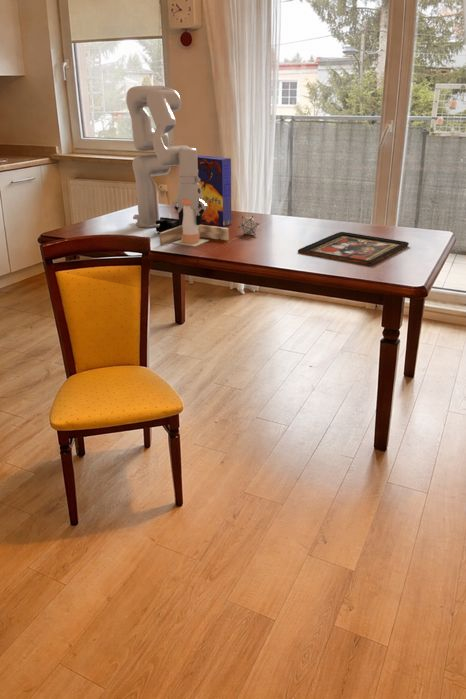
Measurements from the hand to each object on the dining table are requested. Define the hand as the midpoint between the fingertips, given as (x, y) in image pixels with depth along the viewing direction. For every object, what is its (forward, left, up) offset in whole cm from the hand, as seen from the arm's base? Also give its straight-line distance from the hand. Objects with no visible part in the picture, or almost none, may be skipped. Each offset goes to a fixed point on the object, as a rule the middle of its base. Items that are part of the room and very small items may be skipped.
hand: (190, 223), depth 245 cm
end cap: (-17, +8, -8) cm, 21 cm away
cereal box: (-13, +36, -8) cm, 39 cm away
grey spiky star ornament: (+15, +23, -8) cm, 29 cm away
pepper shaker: (0, 0, -8) cm, 8 cm away
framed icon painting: (+64, +21, -9) cm, 68 cm away
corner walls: (+2, 0, -8) cm, 8 cm away
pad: (0, 0, -8) cm, 8 cm away
